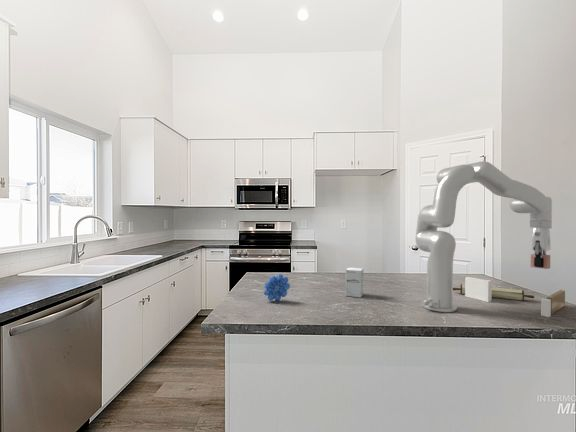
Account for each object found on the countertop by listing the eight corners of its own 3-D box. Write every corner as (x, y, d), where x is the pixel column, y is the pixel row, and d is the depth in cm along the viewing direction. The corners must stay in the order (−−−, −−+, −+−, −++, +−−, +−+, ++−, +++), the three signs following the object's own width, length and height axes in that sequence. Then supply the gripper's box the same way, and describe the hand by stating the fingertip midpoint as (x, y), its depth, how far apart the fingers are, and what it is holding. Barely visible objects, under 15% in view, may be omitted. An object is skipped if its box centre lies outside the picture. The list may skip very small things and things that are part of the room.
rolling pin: (533, 301, 141) (533, 290, 141) (535, 304, 136) (535, 292, 136) (452, 292, 157) (452, 282, 157) (451, 294, 152) (451, 284, 152)
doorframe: (548, 317, 119) (548, 293, 118) (462, 297, 147) (462, 277, 146) (554, 314, 121) (554, 291, 121) (468, 295, 149) (468, 276, 149)
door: (545, 314, 122) (545, 297, 122) (560, 305, 134) (560, 289, 134) (550, 315, 120) (550, 298, 120) (565, 306, 133) (565, 290, 133)
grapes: (289, 298, 144) (289, 271, 144) (290, 302, 137) (290, 274, 137) (263, 298, 143) (263, 272, 143) (263, 302, 136) (263, 275, 136)
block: (547, 268, 135) (548, 256, 135) (530, 267, 140) (530, 254, 140) (550, 267, 138) (550, 255, 138) (533, 266, 143) (533, 253, 143)
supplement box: (345, 296, 148) (345, 269, 148) (348, 292, 155) (348, 266, 154) (361, 298, 145) (361, 270, 145) (363, 294, 152) (363, 267, 152)
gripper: (547, 225, 130) (546, 269, 131) (555, 224, 141) (555, 265, 142) (524, 225, 136) (524, 267, 136) (534, 224, 147) (534, 263, 147)
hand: (540, 265), depth 139 cm, fingers closed on block, 4 cm apart
